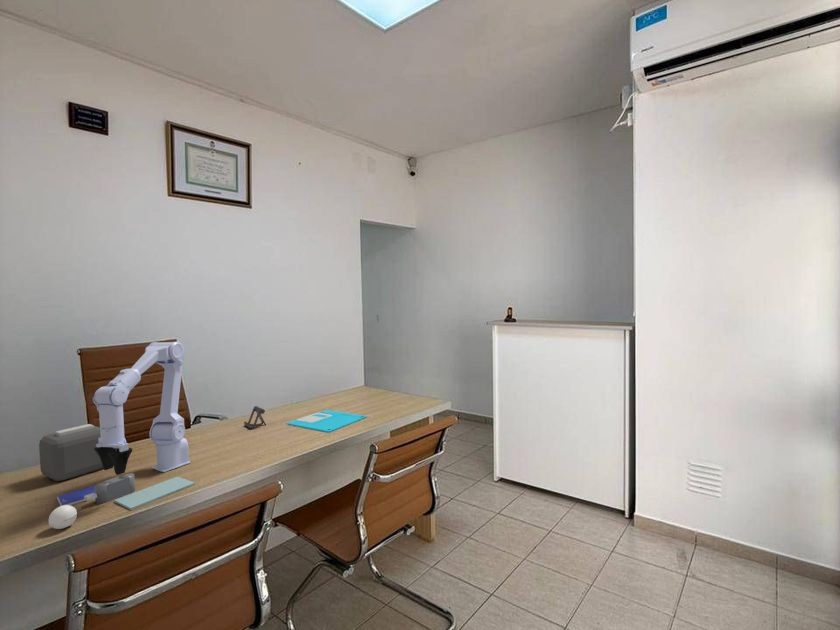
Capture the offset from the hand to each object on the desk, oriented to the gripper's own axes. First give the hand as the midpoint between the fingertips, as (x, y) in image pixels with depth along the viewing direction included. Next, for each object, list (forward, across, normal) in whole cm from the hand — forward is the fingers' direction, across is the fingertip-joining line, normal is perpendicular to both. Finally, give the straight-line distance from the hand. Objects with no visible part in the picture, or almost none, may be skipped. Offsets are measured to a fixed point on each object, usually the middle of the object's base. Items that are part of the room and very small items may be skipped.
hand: (114, 471), depth 123 cm
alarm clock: (+8, -33, +2) cm, 34 cm away
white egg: (+8, +8, -14) cm, 18 cm away
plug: (+8, 0, -1) cm, 8 cm away
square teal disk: (+8, +2, +87) cm, 87 cm away
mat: (+8, +9, +7) cm, 14 cm away
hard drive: (+8, -9, -4) cm, 13 cm away
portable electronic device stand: (+8, -23, +66) cm, 70 cm away
